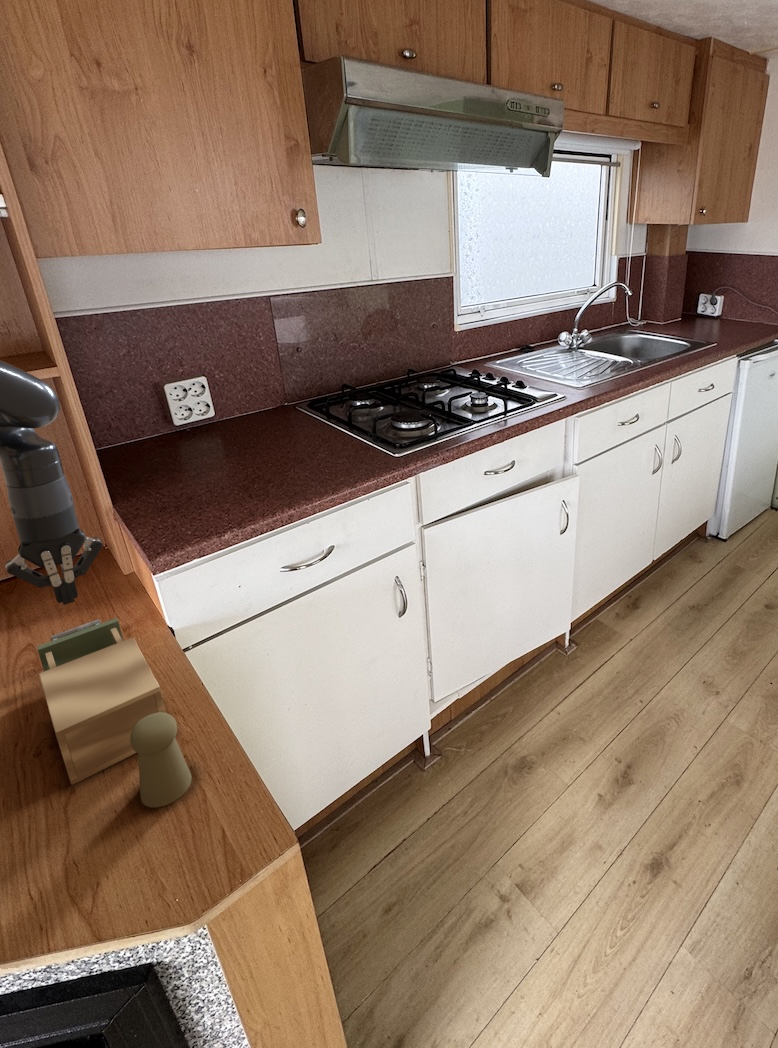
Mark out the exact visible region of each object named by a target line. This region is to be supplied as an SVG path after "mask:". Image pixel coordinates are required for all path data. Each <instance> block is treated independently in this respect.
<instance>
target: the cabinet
mask: <svg viewBox="0 0 778 1048" xmlns="http://www.w3.org/2000/svg"><path fill="white" fill-rule="evenodd" d="M38 676H39V680H40V684H41V687H42V690H43V694H44V698H45V701H46V704H47V708H48V712H49V715H50V719H51V723H52V727H53V730H54V732H55V738H56V740H57V743H58V746H59V749H60V753H61V756H62V759H63V763H64V766H65V769H66V773H67V775H68V779H69V781H70V785H71V786H73V785H75V784H77V783H79V782H81V781H83V780H85V779H87V778H90V777H91V776H93V775H95V774H97V773H99V772H101V771H103V770H105V769H107V768H109V767H111V766H113V765H115V764H117V763H119V762H121V761H123V760H126V759H127V758H130V757H131V756H133V755H135V754H137V753H136V752H135V750H134V749H133V748H132V746H131V742H130V735H131V732H132V730H133V728H134V726H135V725H136V724H137V723H138V722H139V721H140V720H141V719H143V718H144V717H146V716H148V715H151V714H153V713H158V712H164V713H166V708H165V704H164V699H163V694H162V690H161V687H160V684H159V682H158V680H157V679H156V677H155V675H154V673H153V671H152V670H151V667H150V665H149V664H148V662H147V660H146V659H145V657H144V654H143V653H142V651H141V649H140V647H139V645H138V643H137V641H136V639H135V637H130V638H128V639H125V640H123V641H122V642H119V643H117V644H114V645H112V646H109V647H106V648H104V649H101V650H99V651H96V652H93V653H91V654H88V655H86V656H83V657H81V658H78V659H75V660H73V661H70V662H68V663H65V664H62V665H60V666H57V667H55V668H52V669H49V670H47V671H44V670H43V671H41V672H40V673H38Z"/></svg>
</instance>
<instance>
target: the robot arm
mask: <svg viewBox="0 0 778 1048" xmlns="http://www.w3.org/2000/svg"><path fill="white" fill-rule="evenodd" d="M60 409H61V403H60V399H59V396H58V395H57V393H56V392H55V391H54V390H53V388H52V387H51V386H50V385H49V384H47V382H45V381H44V380H42V379H40V378H38V377H37V376H35V375H33V374H31V373H29V372H27V371H25V370H23V369H21V368H19V367H17V366H15V365H12V364H10V363H8V362H6V361H3V360H1V359H0V467H1V471H2V475H3V478H4V481H5V485H6V492H7V500H8V505H9V510H10V512H11V515H12V517H13V522H14V526H15V529H16V533H17V536H18V539H19V546H18V548H17V551H18V554H17V555H16V556H15V557H14V558H12V559H10V560H7V561H6V562H5V565H4V567H5V569H6V572H7V573H8V574H9V575H11V576H14V577H16V578H18V579H20V580H22V581H24V582H26V583H29V584H31V585H33V586H35V587H38V588H40V589H43V588H45V587H51V588H52V590H53V593H54V594H53V595H54V598H55V600H56V602H57V603H58V604H61V603H62V605H63V606H67V605H69V604H71V603H74V602H75V599H77V598H78V595H79V593H78V589H77V585H76V579H77V578H79V577H80V576H84V575H86V574H87V573H88V570H89V569H90V567H91V566H92V564H93V562H94V561H95V560H96V558H97V556H98V554H99V553H100V551H101V550H102V548H103V546H104V545H103V542H102V541H101V539H100V538H99V537H98V536H95V537H89V536H87V535H86V534H85V532H84V531H83V530H81V528H80V525H79V520H78V516H77V513H76V509H75V504H74V501H73V500H74V496H73V494H72V492H71V489H70V485H69V483H68V480H67V478H66V475H65V472H64V468H63V464H62V459H61V455H60V451H59V449H58V447H57V444H56V443H55V442H54V441H52V440H51V439H48V438H46V437H44V436H42V435H40V434H38V433H37V432H36V430H35V429H39V428H44V427H46V426H48V425H50V424H51V423H53V422H54V421H55V420H56V419H57V417H58V416H59V414H60ZM82 547H83V549H84V551H83V552H82V554H81V555H80V557H79V559H78V560H77V562H76V563H75V564H74V566H73V560H74V559H75V558H76V557H77V555H78V554H79V552H80V550H81V549H82ZM27 561H28V562H29V563H31V564H33V565H34V566H37V567H38V568H41V569H45V570H46V574H42V573H40V572H38V571H36V570H34V569H32V568H30V567H28V563H27ZM59 565H60V569H61V574H62V578H61V577H60V575H59V572H58V569H57V566H59Z"/></svg>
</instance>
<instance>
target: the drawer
mask: <svg viewBox="0 0 778 1048" xmlns="http://www.w3.org/2000/svg"><path fill="white" fill-rule="evenodd" d="M49 638H50V641H48V642H45V643H43V644H39V645H38V646H37V645H36V649H37V653H38V656H39V660H40V662H41V666H42V670H43V672H44V671H47V670H49V669H52V668H55V667H57V666H60V665H62V664H65V663H68V662H70V661H73V660H75V659H78V658H81V657H83V656H86V655H88V654H91V653H93V652H96V651H99V650H101V649H104V648H106V647H109V646H112V645H114V644H117V643H119V642H122V641H124V638H123V635H122V629H121V625H120V622H119V619H118V618H117V617H115V618H112V619H109V620H107V621H104V622H101V619H99V618H98V619H95V620H93V621H89V622H86V623H84V624H81V625H78V626H75V627H72V628H70V629H67V630H64V631H62V632H58V633H56V634H53V635H50V636H49Z"/></svg>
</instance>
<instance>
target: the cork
mask: <svg viewBox="0 0 778 1048" xmlns="http://www.w3.org/2000/svg"><path fill="white" fill-rule="evenodd" d="M177 733H178V723H177V721H176V719H175V717H174V716H173V715H171V713H167V712H165V713H164V712H158V713H153V714H151V715H148V716H146V717H144V718H143V719H141V720H140V721H139V722H138V723H137V724H136V725H135V726H134V728H133V730H132V732H131V735H130V742H131V746H132V748H133V749H134V750H135V752H136V753H135V754H137V755H138V756H137V759H138V776H139V795H140V801H141V803H142V804H143V805H144V806H146V807H147V808H161V807H165V806H168V805H170V804H172V803H174V802H176V801H177V800H178V799H180V798H181V797H182V796H183V795H184V794H185V793H186V792H187V791H188V790H189V787H190V786H191V784H192V779H193V778H192V773H191V771H190V767H189V766H188V764H187V762H186V760H185V757H184V755H183V752H182V750H181V748H180V745H179V744H178V741H177V739H176V736H177Z"/></svg>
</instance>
